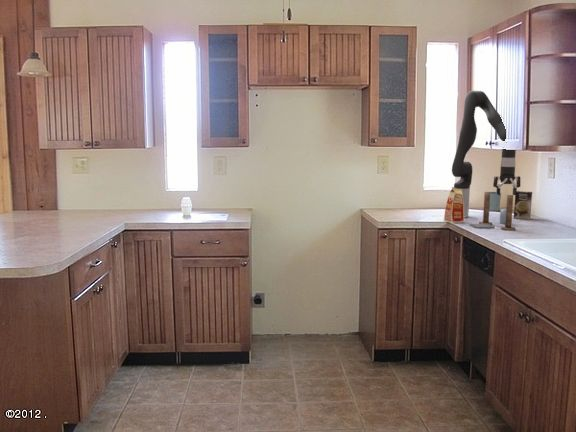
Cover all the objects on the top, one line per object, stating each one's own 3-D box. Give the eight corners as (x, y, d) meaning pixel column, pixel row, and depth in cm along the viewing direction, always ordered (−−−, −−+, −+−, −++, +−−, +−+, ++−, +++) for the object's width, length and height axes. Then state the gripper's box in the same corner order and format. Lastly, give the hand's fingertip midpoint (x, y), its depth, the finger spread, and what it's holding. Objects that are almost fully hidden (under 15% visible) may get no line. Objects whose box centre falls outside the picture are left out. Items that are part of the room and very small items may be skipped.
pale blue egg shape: (498, 222, 319) (498, 208, 317) (507, 222, 319) (508, 208, 318) (501, 224, 313) (502, 210, 312) (511, 224, 313) (512, 210, 312)
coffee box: (513, 218, 334) (514, 191, 332) (514, 217, 340) (516, 190, 338) (529, 219, 330) (531, 192, 328) (530, 218, 336) (532, 191, 333)
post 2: (498, 228, 300) (500, 194, 298) (511, 228, 300) (514, 194, 298) (504, 230, 293) (506, 196, 291) (517, 230, 294) (519, 196, 291)
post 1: (477, 223, 316) (478, 191, 313) (489, 223, 316) (491, 191, 314) (481, 225, 309) (483, 192, 306) (494, 225, 309) (496, 192, 307)
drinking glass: (501, 210, 370) (502, 192, 368) (498, 212, 362) (499, 193, 360) (485, 209, 375) (486, 191, 374) (482, 211, 367) (483, 192, 365)
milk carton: (451, 223, 318) (453, 187, 315) (443, 220, 326) (444, 186, 324) (466, 222, 320) (467, 187, 317) (457, 220, 329) (458, 185, 326)
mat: (469, 225, 309) (469, 223, 309) (487, 225, 310) (487, 223, 310) (476, 228, 300) (476, 226, 299) (494, 228, 300) (494, 226, 300)
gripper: (517, 165, 315) (516, 194, 317) (492, 165, 315) (491, 194, 317) (523, 166, 307) (521, 195, 310) (497, 166, 307) (496, 195, 310)
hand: (506, 195), depth 313 cm, fingers open, 8 cm apart
